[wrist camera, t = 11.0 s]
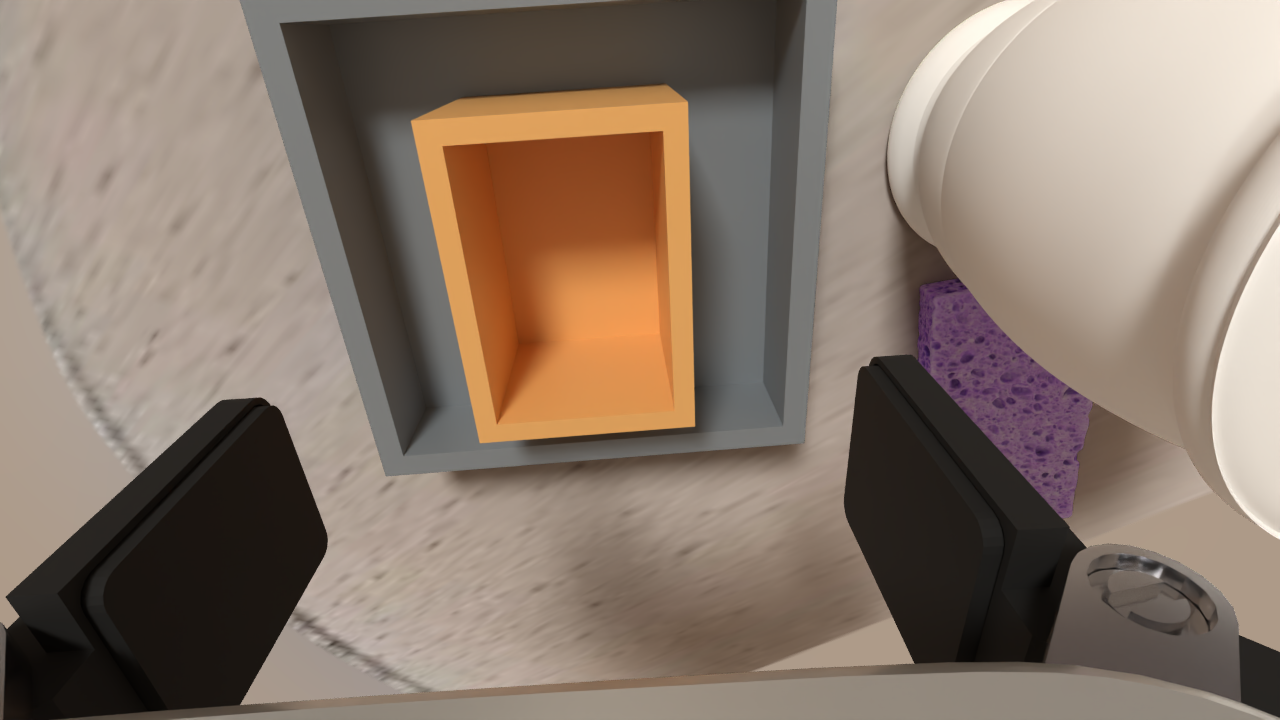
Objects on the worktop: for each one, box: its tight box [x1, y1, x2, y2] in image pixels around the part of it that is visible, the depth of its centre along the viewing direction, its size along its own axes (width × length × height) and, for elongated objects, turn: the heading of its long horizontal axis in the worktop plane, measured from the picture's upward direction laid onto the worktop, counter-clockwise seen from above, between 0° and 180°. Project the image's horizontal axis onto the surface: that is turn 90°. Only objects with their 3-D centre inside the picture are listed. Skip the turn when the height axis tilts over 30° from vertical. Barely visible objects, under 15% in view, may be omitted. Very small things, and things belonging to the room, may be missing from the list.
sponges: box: [917, 278, 1093, 518], centre depth 27 cm, size 7×13×2 cm, turn 10°
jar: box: [887, 0, 1280, 539], centre depth 15 cm, size 11×10×15 cm
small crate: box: [411, 83, 695, 443], centre depth 19 cm, size 6×9×6 cm
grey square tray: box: [240, 0, 837, 476], centre depth 21 cm, size 15×15×4 cm
